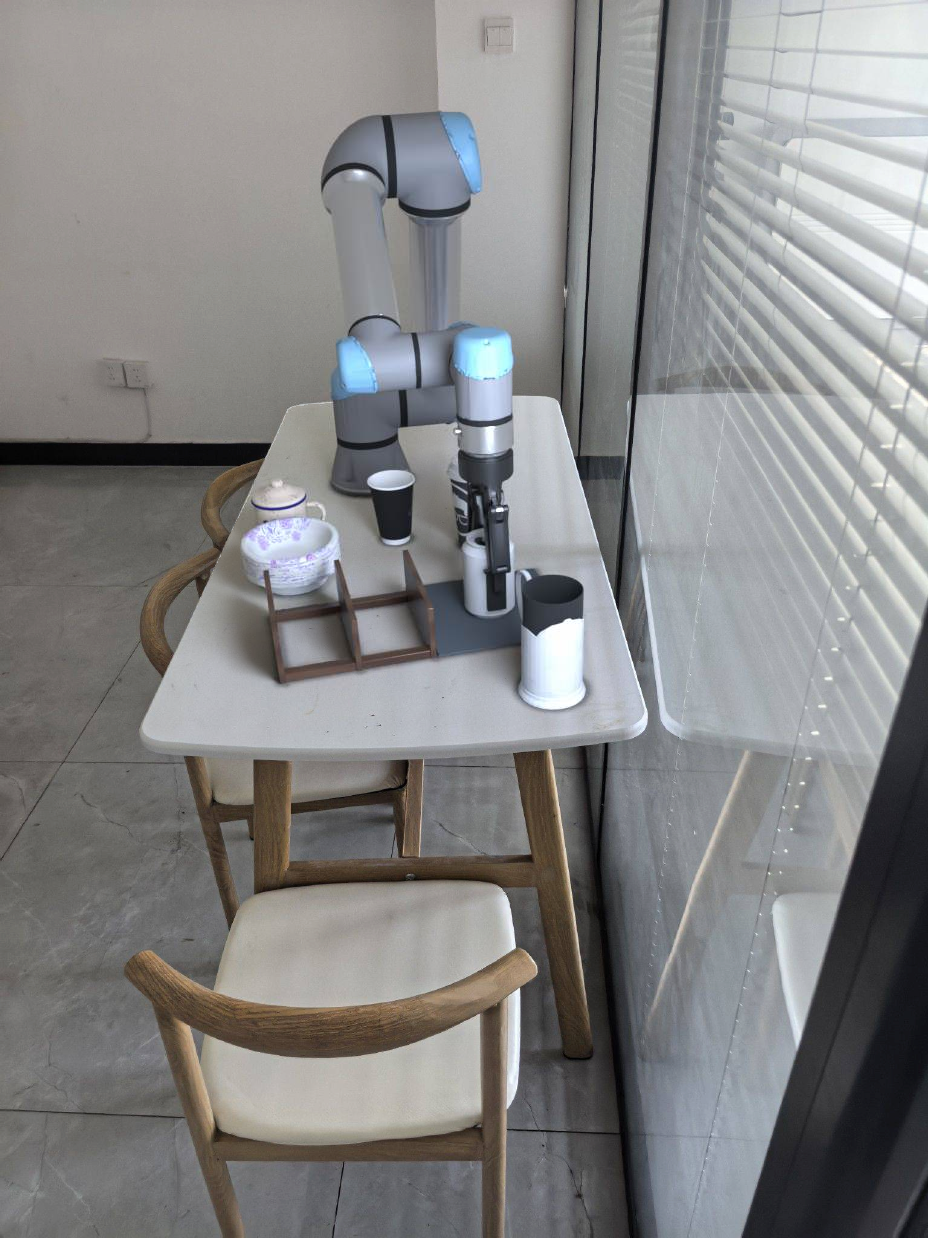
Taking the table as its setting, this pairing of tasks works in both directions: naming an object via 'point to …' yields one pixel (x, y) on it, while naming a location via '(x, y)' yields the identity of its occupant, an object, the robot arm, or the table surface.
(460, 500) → the coffee cup
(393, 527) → the dixie cup
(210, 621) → the table surface
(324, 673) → the rack
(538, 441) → the table surface
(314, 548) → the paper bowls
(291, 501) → the teacup with lid
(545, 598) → the glass holder
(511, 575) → the can
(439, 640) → the mat
